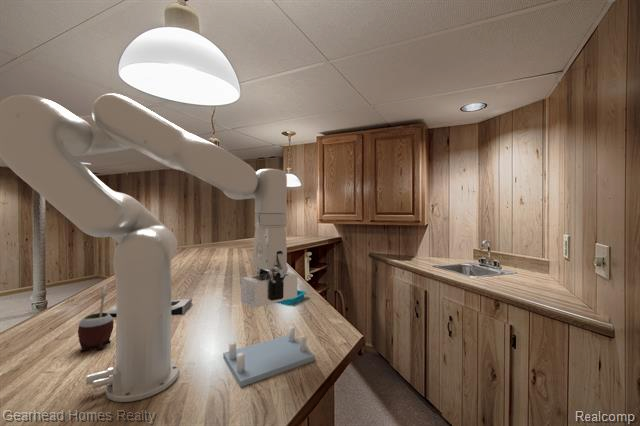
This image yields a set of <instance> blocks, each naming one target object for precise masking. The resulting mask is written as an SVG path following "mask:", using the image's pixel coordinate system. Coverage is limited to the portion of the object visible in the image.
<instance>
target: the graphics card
mask: <svg viewBox="0 0 640 426" xmlns="http://www.w3.org/2000/svg"><path fill="white" fill-rule="evenodd" d="M171 302H172V303H171V316H179V315H180V316H181V315H183V316H185V315H186V312H187V311H188V310H189V309H190V307H192V306H193V303H192V302H193V298H189V299H187V298H183V299H176V300H175V299H171ZM106 313H108V314H110V315H111V316H112V318H115V317H116V318H117V312H116V305H113V306H112V307H110V308H109V309H108V311H107V312H106Z"/></svg>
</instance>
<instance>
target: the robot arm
mask: <svg viewBox="0 0 640 426" xmlns="http://www.w3.org/2000/svg"><path fill="white" fill-rule="evenodd" d="M131 149H133V150H136V151H137V152H140V153H141V154H143V155H145V156H146V157H149V158H150V159H152V160H154V161H157V162H158V163H160V164H162V165H164V166H166V167H167V168H170V169H173V170H177V171H182V172H185V173H187V174H190V175H192V176H194V177H196V178H198V179H200V180H203V182H205V183H208V184H210V185H212V186H213V187H215V188H218V189H219V190H221V191H222V192H223V194H224V195H225V196H226V197H228V198H230V199H232V200H235V201H236V200H237V201H239V200H241V201H242V200H247V199H248V200H249V199H254V229H255V230H254V237H253V249H252V252H253V253H252V265H254V267H256V268H257V272H256V275H260V274H266V273H270V275H271V281H272V283H270V300H271V301H273V300H279V299H283V291H284V281H285V279H284V278H285V274H286V273H287V272H289V268H288V266H287V262H288V261H287V260H288V256H287V255H288V253H287V252H288V247H287V245H288V244H287V233H286V228H287V202H288V201H287V200H288V199H287V197H288V196H287V195H288V194H287V191H288V190H287V189H288V187H287V186H288V185H287V184H288V180H287V179H288V178H287V176H288V175H287V173H286V172H285V171H284V170H283V169H277V168H276V169H275V168H262V169H258V170H257V171H256V170H255V169H254V168H253V167H252V166H251V165H250V164H249V163H247V162H246V161H244V160H243V159H241V158H239V157H238V156H236V155H234V154H232V153H230V152H229V151H227V150H226V149H224V148H222V147H220V146H218V145H216V144H215V143H212V142H211V141H208V140H206V139H204V138H201V137H199V136H197V135H195V134H193V133H190V132H188V131H186V130H184V129H183V128H182V127H180V126H177V125H176V124H174V123H173V122H170V121H169V120H167V119H165V118H164V117H162V116H160V115H158V114H157V113H156V112H153V111H151V110H150V109H148V108H146V107H145V106H143V105H141V104H140V103H138V102H137V101H134V100H132V99H131V98H129V97H127V96H124V95H122V94H117V93H106V94H103V95H101V96H99V97H97V99H96V100H94V102H93V103H92V107H91V115H89V114H88V115H79V116H78V115H76V114H74V113H72V112H71V111H69V110H68V109H66V108H65V107H63V106H62V105H60V104H58V103H56V102H54V101H52V100H50V99H46V98H45V97H43V96H42V97H41V96H38V95H33V94H15V95H11V96H8V97H6V98H4V99H2V100H1V101H0V158H1V160H2V161H3V162H4V164H6V166H7V167H8V168H9V169H10V170H11V171H12V173H13V172H14V174H15V175H17V176H18V177H19V178H20V179H22V181H23V182H25V183H26V184H28V186H29V187H31V188H32V189H33V190H35V192H37V193H38V194H39V195H40V196H41V197H43V198H44V200H45V201H47V202H48V204H50V205H51V206H52V207H54V208H55V209H56V210H57V211H59V212H60V213H61V214H62V215H63V216H64V217H65V218H67V220H69V221H70V222H71V223H72V224H74V225H75V226H76V227H77V228H78V229H79V230H80V231H82V233H84V234H86V235H88V236H91V237H95V238H109V237H111V239H112V240H114V241H115V242H116V243H117V245H116V247H115V250H114V253H113V258H112V263H113V265H112V266H113V273H114V280H115V292H116V293H115V295H116V296H115V297H116V301H115V304H116V312H117V317H116V326H115V327H116V329H115V330H116V336H115V337H116V338H115V339H116V340H115V342H116V343H115V351H116V352H115V361H114V364H113V365H112V366H108V368H107V369H105V370H101V371H95V372H91V373H87V374H86V377H85V378H86V379H85V385H86V386H90V385H92V389H93V390H95V389H98V388H102V387H103V386H105V396H106V398H108V399H109V400H111V401H113V402H119V403H129V402H137V401H140V400H141V401H142V400H144V399H147V398H151V397H152V396H155V395H157V394H158V393H161V392H163V391H164V390H166V389H167V388H169V387H170V386H171V385H172V384H174V383H175V381H176V380H177V378H178V377H179V373H180V367H179V365H178V364H177V362H175V361H172V315H171V303H172V302H171V300H172V296H173V295H172V290H173V289H172V273H171V271H172V269H171V268H172V267H171V266H172V260H173V259H174V257H175V256H176V254H177V252H178V239H177V238H176V236H175V234H174V233H173V232H172V231H171V230H170V229H169V228H168V227H167V226H166V225H165V224H164V223H162V222H161V221H160V220H159V219H158V218H157V217H156V216H155V215H154V214H152V212H150V211H149V210H148V209H147V208H146V207H145V206H144V205H143V204H142V203H141V202H140V201H138V200H137V199H135V198H134V197H133V196H131V195H129V194H126V193H123V192H121V191H120V192H119V191H116V190H114V189H112V188H110V187H109V186H108V185H106V184H105V183H104V182H103V181H102V180H100V178H99V177H97V176H96V174H94V173H93V172H92V171H91V170H90V169H89V168H88V167H87V166H86V165H84V164H83V163H82V162H80V160H78V159H77V158H76V157H83V156H91V155H98V154H106V153H112V152H113V153H114V152H120V151H126V150H131ZM274 272H278V273H277V274H276V276H275V273H274Z"/></svg>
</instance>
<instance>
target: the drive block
mask: <svg viewBox="0 0 640 426" xmlns="http://www.w3.org/2000/svg"><path fill="white" fill-rule="evenodd" d="M274 273H275V276H276V274H277V273H278V272H274ZM298 276H299V275H298V274H296V273H293V272H290V271H287V273H286V274H285V278H284V279H285V281H284V291H283V299H279V300H273V301H271V300H270V283H272V281H271V275H270V272H269V273H266V274H260V275H257V274H255V275H249V276H244V277H241V281H240V283H241V285H240V288H241V289H240V301H241V302H242V303H243V304H246V305H248V306H250V307H251V308H254V309H256V308H259V307H264V306H268V305H271V304H274V303H276V302H279V301H283V300H286V299H290V298H294V297H297V290H298Z"/></svg>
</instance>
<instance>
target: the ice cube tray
mask: <svg viewBox="0 0 640 426" xmlns="http://www.w3.org/2000/svg"><path fill="white" fill-rule="evenodd" d="M306 294H307V291H303V290H300V289H297V297H294V298H290V299H286V300H283V301H279V302H275V303H277V304H280V303H281V304H282V305H284V304H285V306H294V305H295V304H297V303H299V302H301V301H303V300H304V299H305V295H306Z"/></svg>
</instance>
